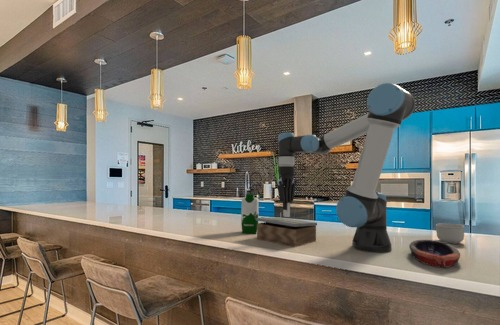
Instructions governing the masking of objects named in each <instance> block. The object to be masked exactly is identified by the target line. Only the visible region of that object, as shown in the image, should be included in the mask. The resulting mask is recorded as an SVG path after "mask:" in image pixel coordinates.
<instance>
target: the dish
mask: <svg viewBox="0 0 500 325" xmlns="http://www.w3.org/2000/svg"><path fill="white" fill-rule="evenodd" d="M409 250H410V253H411V255H412V256H413V257H414V259H416V260H417V261H419V262H421V263H422V264H427V265H429V266H433V267H437V268H442V269H443V268H444V269H445V268H449V267H452V266H455V265H456V264H457V263H459V261H460V260H459V259H460V258H461V253H460V251H459V249H457V248H456V247H455V246H453V245H452V244H449V243H448V242H445V243H444V242H442V241H440V240H439V241H438V240H433V239H417V240H413V241H411V242H410V244H409Z"/></svg>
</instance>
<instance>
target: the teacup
mask: <svg viewBox="0 0 500 325" xmlns="http://www.w3.org/2000/svg"><path fill="white" fill-rule="evenodd" d="M435 228H436V229H435V231H436V236H437V237H436V238H438V239H439V241H440V242H444V243H445V242H448V244H450V245H453V244H454V245H458V244H460V243H461V242H463V240H465V226H464V225H462V224H456V223H447V222H446V223H442V222H440V223H436V224H435Z"/></svg>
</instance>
